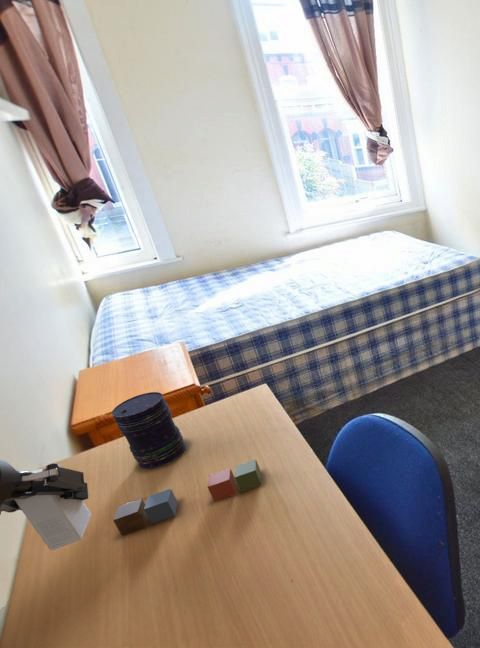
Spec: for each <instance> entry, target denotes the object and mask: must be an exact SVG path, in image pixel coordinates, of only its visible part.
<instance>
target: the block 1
mask: <svg viewBox="0 0 480 648" xmlns="http://www.w3.org/2000/svg"><path fill="white" fill-rule="evenodd" d="M145 504H146V502H145V501H144V499H143V498H142V497H141V498H139V499H135V500H133V501H130V502H127V503H124V504H122V505H118V506H117V509H116V511H115V513H114V517H113V519H112V521H113V523H114V525H115V526H116V528H117V530H118V532H119V533H120V535H121V536H123V535H126V534H129V533H131V532H135V531H137V530H140V529H143V528H146V527H147V524H148V520H149V518H148V516H147V514H146V512H145V511H144V508H145Z"/></svg>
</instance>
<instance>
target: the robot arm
mask: <svg viewBox="0 0 480 648" xmlns="http://www.w3.org/2000/svg"><path fill="white" fill-rule="evenodd" d="M58 464H59V463H49V464H47V465H46V466H45V467H43V468H44V469H43V468H41V469H42V472H38V473H32V472H33V471H30V470H17V469H15V467H14V466H12V465H11V464H10V463H9V462H7V461H5V460H3V459H0V516H1V515H2V512H5V513H9V514H10V513H15V512H17V511H22V510H21V508H20V507H19V506H18V504H17V503H16V502H15V500H14V499H27V498H30V497H32V496H35V495H60V498H64V499H76V500H83V501H85V500H88V499H89V489H88V482H85V476H84V472H83V471H79V470H75V469H71V468H66V467H62V466H61V467H59V466H58Z"/></svg>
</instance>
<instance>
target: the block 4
mask: <svg viewBox="0 0 480 648" xmlns="http://www.w3.org/2000/svg"><path fill="white" fill-rule="evenodd" d="M234 478H235V480H236V485H237V486H238V489H239V491H240V493H241V492H245V491H248V490H251V489H253V488H256V487H259V486H261V485H262V471H261V469H260V466H259V463H258V461H257V459H252V460H250V461H246V462H244V463H241V464H237V465H236V466H235V469H234Z"/></svg>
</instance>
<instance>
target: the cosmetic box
mask: <svg viewBox="0 0 480 648" xmlns="http://www.w3.org/2000/svg"><path fill="white" fill-rule="evenodd" d="M57 464H58V466H59V467H62V466H61V464H60V463H57ZM44 468H45V467H43V468H40V469H36V470H33V471H31V472H32V473H38V472H42V469H44ZM14 500H15V502H16V503H17V504H18V506H19V507H20V508H21V510H20V511H22V513H23V514H24V516H25V517H26V518H27V520H28V521H29V523H30V524H31V525H32V527H33V528H34V530H35V531H36V533H37V534H38V535H39V536H40V538H41V539H42V541H43V542H44V543H45V545H46V546H47V548H48V549H49V550H50V551H55V550H58V549H60V548H62V547H63V548H64V547H66V546H69V545H72V544H74V543H77V542H80V541H82V539H83V536H84V534H85V532H86V529H87V527H88V525H89V523H90V520H91V518H92V513H91V511H90V509H89V508H88V506H87V505H86V503H85V502H84V500H76V499H64V498H60V495H35V496H32V497H30V498H27V499H14Z"/></svg>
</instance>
